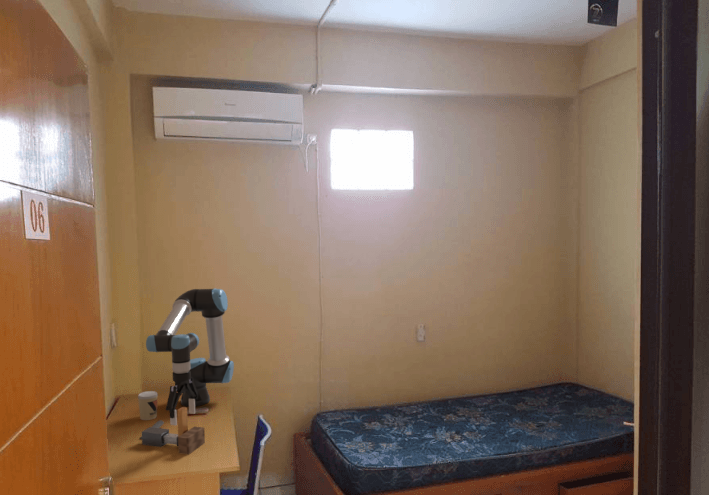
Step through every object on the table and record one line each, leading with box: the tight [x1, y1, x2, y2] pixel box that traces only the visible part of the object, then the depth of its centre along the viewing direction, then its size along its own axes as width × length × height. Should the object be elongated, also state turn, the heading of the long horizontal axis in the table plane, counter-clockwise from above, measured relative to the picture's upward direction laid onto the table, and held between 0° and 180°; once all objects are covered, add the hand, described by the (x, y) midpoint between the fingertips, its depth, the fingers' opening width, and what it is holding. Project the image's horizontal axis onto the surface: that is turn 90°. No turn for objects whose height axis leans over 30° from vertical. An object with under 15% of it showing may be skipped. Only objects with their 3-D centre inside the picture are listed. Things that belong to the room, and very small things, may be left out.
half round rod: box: [139, 419, 165, 440], centre depth 252 cm, size 4×20×2 cm, turn 178°
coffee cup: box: [137, 390, 159, 421], centre depth 269 cm, size 9×9×12 cm
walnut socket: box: [177, 426, 206, 456], centre depth 232 cm, size 12×5×7 cm, turn 163°
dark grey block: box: [141, 426, 170, 448], centre depth 237 cm, size 6×10×6 cm, turn 73°
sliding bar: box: [162, 406, 189, 448], centre depth 234 cm, size 4×20×16 cm, turn 73°
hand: (183, 418), depth 233 cm, fingers open, 13 cm apart
